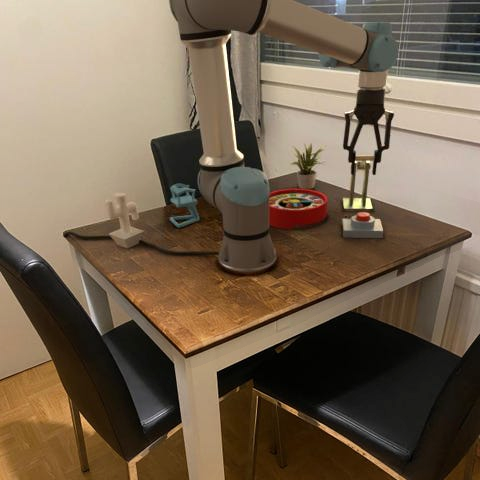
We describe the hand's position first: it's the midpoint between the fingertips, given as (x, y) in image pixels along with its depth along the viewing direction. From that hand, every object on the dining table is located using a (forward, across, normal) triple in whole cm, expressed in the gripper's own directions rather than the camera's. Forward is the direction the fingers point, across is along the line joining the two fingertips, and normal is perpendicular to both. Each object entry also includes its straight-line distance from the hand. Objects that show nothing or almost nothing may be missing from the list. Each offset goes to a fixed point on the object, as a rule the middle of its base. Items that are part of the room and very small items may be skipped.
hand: (363, 173), depth 146 cm
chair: (+14, +54, +6) cm, 56 cm away
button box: (+14, 0, +12) cm, 18 cm away
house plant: (+14, +16, -25) cm, 33 cm away
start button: (+10, 0, +12) cm, 15 cm away
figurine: (+14, +67, +24) cm, 72 cm away
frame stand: (+14, 0, -10) cm, 17 cm away
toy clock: (+14, +20, +1) cm, 24 cm away
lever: (-1, 0, -4) cm, 4 cm away
